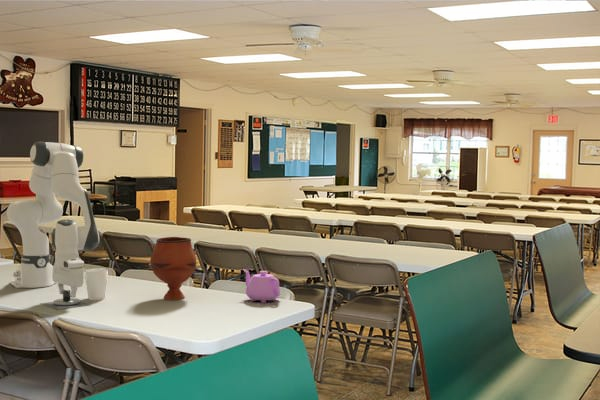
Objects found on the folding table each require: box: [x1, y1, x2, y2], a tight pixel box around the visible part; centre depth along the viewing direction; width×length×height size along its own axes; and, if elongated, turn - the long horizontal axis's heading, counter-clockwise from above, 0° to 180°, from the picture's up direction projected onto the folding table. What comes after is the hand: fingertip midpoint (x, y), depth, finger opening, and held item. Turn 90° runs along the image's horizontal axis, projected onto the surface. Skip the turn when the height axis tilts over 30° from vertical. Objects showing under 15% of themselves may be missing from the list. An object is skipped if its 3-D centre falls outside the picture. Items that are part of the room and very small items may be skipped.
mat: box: [39, 300, 91, 311], centre depth 277 cm, size 16×14×1 cm
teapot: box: [242, 268, 281, 304], centre depth 290 cm, size 20×14×12 cm
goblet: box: [149, 236, 197, 301], centre depth 292 cm, size 19×19×25 cm
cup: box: [84, 268, 109, 301], centre depth 289 cm, size 9×9×12 cm
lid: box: [52, 289, 81, 306], centre depth 278 cm, size 10×10×5 cm
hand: (67, 295), depth 278 cm, fingers open, 8 cm apart
